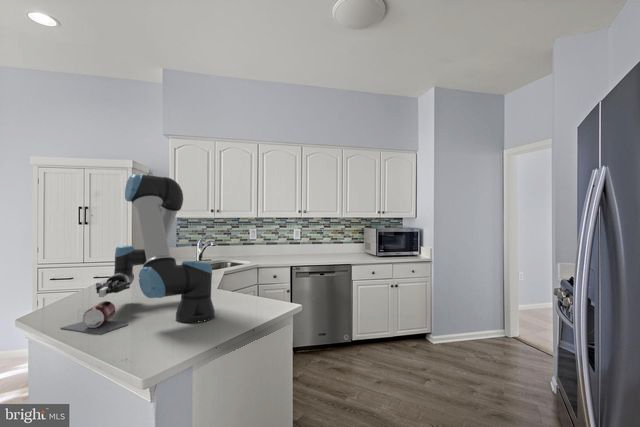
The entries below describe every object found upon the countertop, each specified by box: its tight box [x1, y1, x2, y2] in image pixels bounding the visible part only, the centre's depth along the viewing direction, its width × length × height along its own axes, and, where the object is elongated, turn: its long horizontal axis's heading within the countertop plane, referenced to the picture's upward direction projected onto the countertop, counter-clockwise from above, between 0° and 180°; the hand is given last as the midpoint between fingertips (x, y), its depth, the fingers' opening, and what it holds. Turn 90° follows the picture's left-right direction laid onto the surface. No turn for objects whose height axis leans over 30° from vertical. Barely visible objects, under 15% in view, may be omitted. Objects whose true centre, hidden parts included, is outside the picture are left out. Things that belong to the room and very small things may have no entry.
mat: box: [60, 320, 129, 336], centre depth 124 cm, size 18×12×1 cm, turn 74°
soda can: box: [82, 300, 117, 328], centre depth 127 cm, size 7×7×12 cm
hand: (101, 293), depth 128 cm, fingers closed
